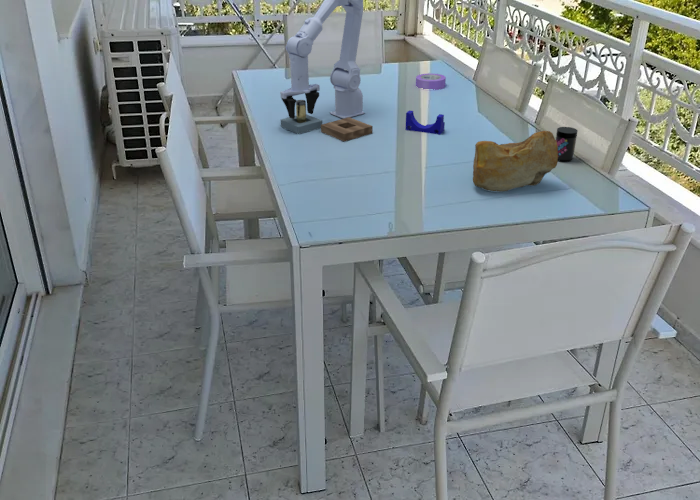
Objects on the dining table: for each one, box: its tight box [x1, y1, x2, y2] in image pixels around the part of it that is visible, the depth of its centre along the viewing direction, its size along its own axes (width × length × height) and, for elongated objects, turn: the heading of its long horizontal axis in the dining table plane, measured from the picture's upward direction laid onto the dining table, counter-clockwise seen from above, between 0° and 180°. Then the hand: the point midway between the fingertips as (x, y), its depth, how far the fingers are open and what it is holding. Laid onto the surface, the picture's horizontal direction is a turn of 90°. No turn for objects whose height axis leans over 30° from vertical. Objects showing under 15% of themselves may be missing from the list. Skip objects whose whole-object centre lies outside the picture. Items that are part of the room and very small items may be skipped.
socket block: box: [320, 117, 373, 142], centre depth 230 cm, size 12×12×2 cm
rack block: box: [279, 113, 323, 135], centre depth 235 cm, size 10×10×2 cm
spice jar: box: [295, 99, 307, 123], centre depth 233 cm, size 3×3×9 cm
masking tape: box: [415, 72, 447, 91], centre depth 278 cm, size 12×12×4 cm
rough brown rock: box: [472, 130, 559, 193], centre depth 192 cm, size 23×17×15 cm
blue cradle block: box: [404, 110, 445, 136], centre depth 231 cm, size 12×4×6 cm, turn 67°
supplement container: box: [555, 126, 579, 163], centre depth 207 cm, size 6×6×9 cm
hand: (301, 115), depth 234 cm, fingers open, 7 cm apart
